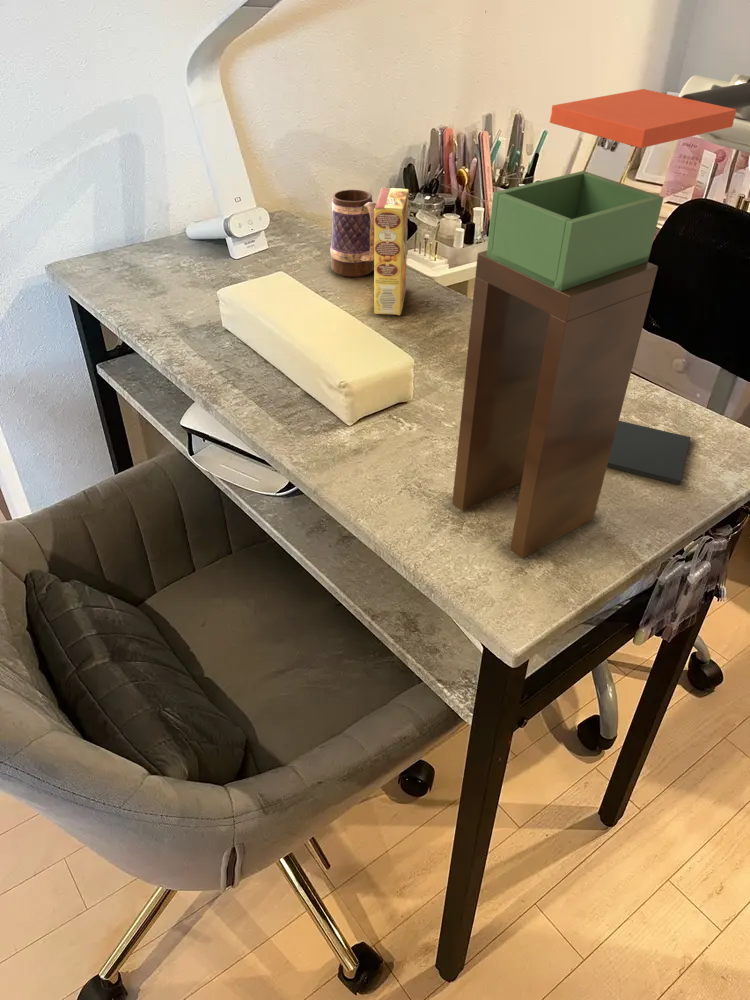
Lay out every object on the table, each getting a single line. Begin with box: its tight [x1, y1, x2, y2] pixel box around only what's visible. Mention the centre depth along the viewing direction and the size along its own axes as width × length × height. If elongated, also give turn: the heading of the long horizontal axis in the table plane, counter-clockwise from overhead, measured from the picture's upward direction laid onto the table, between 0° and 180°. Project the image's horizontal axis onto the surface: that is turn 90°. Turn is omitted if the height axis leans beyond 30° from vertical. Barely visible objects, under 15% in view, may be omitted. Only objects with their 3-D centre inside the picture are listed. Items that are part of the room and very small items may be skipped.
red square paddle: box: [549, 82, 750, 149], centre depth 60 cm, size 23×9×2 cm, turn 126°
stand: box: [451, 250, 659, 559], centre depth 69 cm, size 10×10×26 cm
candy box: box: [373, 187, 410, 316], centre depth 110 cm, size 9×4×15 cm, turn 174°
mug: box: [330, 189, 377, 278], centre depth 119 cm, size 10×7×12 cm
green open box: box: [486, 170, 664, 291], centre depth 59 cm, size 10×8×5 cm
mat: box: [607, 420, 691, 486], centre depth 85 cm, size 10×9×1 cm
